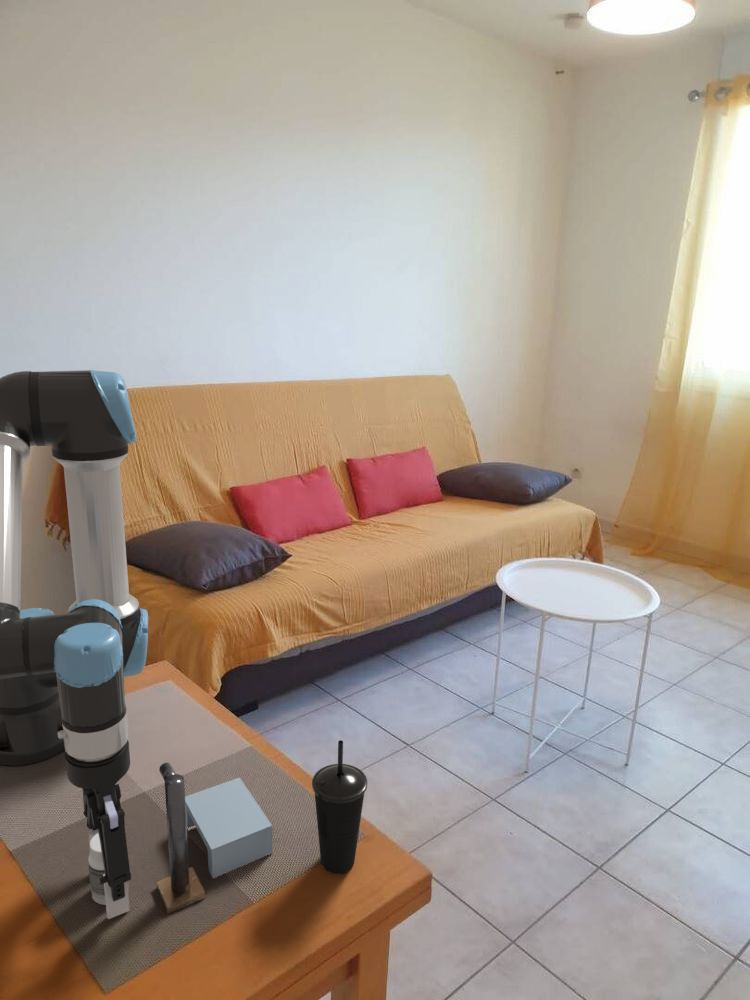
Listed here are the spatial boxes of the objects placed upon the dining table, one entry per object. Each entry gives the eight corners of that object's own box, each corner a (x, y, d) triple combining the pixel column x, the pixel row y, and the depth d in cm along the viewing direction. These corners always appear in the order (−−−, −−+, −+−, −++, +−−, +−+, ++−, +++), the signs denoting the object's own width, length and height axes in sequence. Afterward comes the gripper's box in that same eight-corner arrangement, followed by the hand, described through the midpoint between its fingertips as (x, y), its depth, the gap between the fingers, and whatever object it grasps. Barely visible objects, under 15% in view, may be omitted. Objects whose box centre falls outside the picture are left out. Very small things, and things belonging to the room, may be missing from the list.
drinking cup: (363, 883, 99) (368, 760, 93) (308, 881, 99) (309, 758, 94) (365, 842, 107) (369, 726, 101) (313, 840, 107) (315, 724, 101)
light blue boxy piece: (184, 824, 109) (183, 797, 107) (240, 804, 113) (239, 777, 112) (212, 879, 99) (211, 849, 98) (272, 853, 104) (272, 825, 102)
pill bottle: (117, 909, 94) (112, 857, 92) (84, 902, 95) (79, 850, 92) (135, 881, 98) (131, 830, 96) (104, 874, 99) (99, 824, 97)
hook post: (153, 879, 99) (145, 769, 93) (189, 865, 101) (183, 756, 96) (168, 913, 94) (160, 798, 88) (205, 897, 96) (200, 785, 91)
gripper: (50, 712, 96) (65, 850, 103) (82, 805, 80) (98, 962, 86) (108, 696, 100) (119, 830, 107) (150, 782, 84) (161, 934, 90)
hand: (110, 889), depth 97 cm, fingers open, 8 cm apart
